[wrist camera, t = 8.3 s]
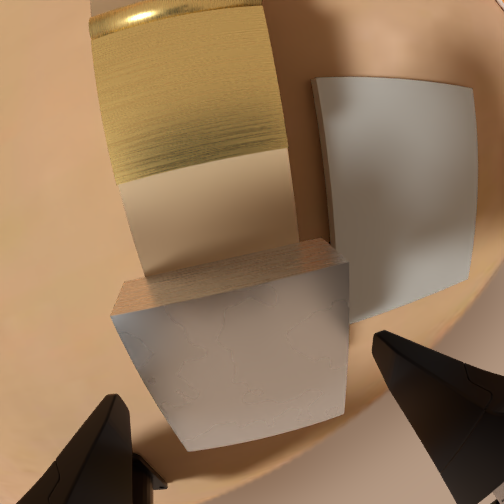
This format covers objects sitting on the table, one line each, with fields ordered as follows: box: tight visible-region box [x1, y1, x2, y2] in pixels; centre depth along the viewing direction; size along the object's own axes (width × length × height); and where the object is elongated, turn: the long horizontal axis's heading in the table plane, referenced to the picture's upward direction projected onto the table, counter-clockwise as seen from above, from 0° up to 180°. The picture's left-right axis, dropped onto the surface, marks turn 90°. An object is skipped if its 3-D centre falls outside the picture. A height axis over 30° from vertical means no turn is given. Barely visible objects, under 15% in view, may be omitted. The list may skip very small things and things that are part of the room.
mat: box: [311, 77, 478, 324], centre depth 13 cm, size 12×10×1 cm
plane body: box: [90, 0, 300, 277], centre depth 11 cm, size 20×5×4 cm, turn 10°
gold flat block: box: [89, 0, 289, 185], centre depth 6 cm, size 1×4×5 cm
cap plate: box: [110, 238, 349, 452], centre depth 10 cm, size 7×6×2 cm
